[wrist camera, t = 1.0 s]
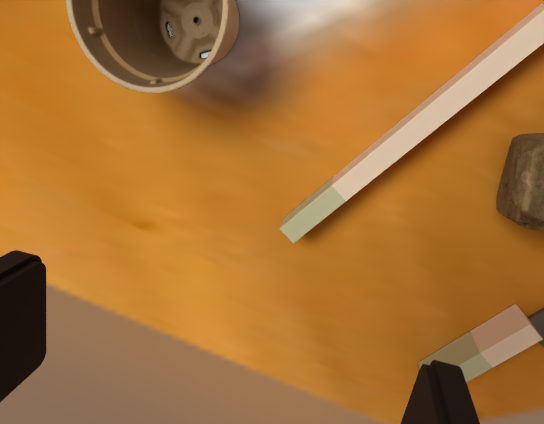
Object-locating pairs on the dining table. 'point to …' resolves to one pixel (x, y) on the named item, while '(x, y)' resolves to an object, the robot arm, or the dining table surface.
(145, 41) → the flower pot
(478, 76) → the set of beige bars
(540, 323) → the mat
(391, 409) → the dining table surface
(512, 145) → the stone block
